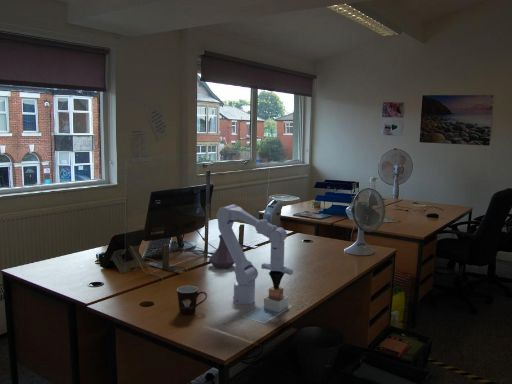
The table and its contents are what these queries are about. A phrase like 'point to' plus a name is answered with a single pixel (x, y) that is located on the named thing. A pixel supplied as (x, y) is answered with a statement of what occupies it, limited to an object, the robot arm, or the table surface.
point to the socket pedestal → (276, 304)
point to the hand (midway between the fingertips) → (276, 287)
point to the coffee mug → (188, 299)
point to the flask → (221, 256)
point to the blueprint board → (263, 314)
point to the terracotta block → (276, 293)
